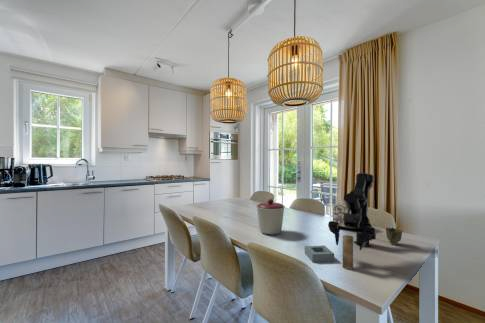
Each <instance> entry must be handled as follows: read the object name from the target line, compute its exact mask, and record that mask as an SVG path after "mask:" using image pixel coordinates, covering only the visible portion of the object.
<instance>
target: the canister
mask: <svg viewBox="0 0 485 323" xmlns="http://www.w3.org/2000/svg"><path fill="white" fill-rule="evenodd" d="M255 208H256V209H257V210H256V211H257V218H258V219H257V220H258V225H259V226H258V227H259V231H260V232H261V233H262V234H264V235H271V236H272V235H278V234H280V233H281V232H282V228H283V224H284V222H283V221H284V215H285V214H284V211H285V209H286V206H285V205H283V204H282V203H280V202H274V200H273V198H269V199H268V200H267V201H266V202H260V203H258V204H256V206H255Z"/></svg>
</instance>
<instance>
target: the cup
mask: <svg viewBox="0 0 485 323" xmlns="http://www.w3.org/2000/svg"><path fill="white" fill-rule="evenodd" d="M385 233H386V238H387V240H388V241H389V243H390V245H393V246H397V245H398V244H399V242H401V241H402V235H403V229H401V228H399V229H398V228H394V227H386V228H385Z"/></svg>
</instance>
